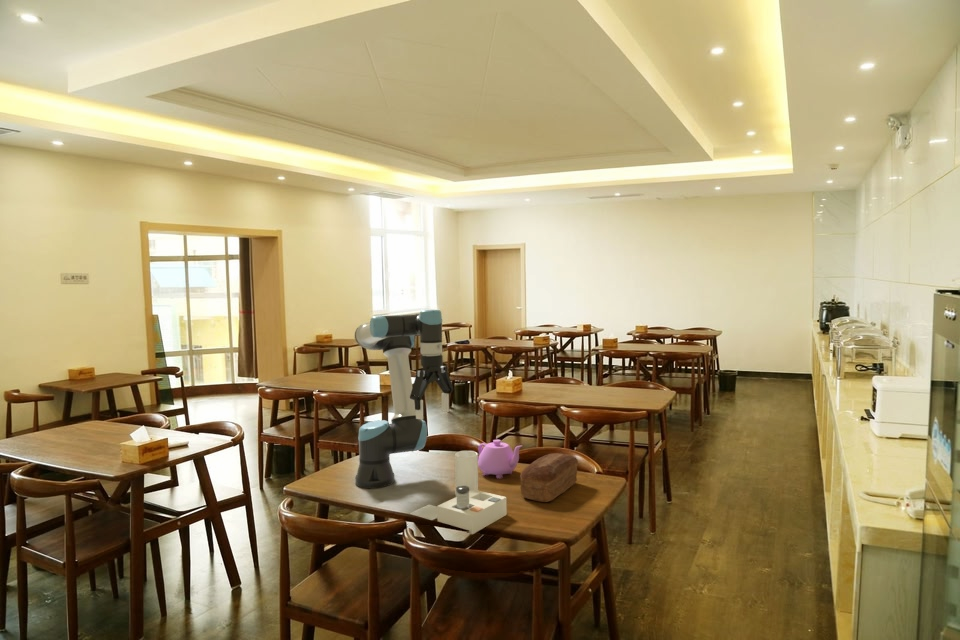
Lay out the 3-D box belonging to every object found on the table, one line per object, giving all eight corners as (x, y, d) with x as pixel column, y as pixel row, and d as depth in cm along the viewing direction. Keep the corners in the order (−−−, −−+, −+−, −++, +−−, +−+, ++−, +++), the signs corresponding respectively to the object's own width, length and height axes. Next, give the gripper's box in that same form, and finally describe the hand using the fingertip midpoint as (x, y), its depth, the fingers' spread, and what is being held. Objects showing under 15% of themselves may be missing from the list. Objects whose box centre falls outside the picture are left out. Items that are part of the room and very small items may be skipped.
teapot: (533, 474, 245) (532, 440, 244) (511, 484, 233) (510, 449, 232) (489, 464, 259) (488, 432, 258) (466, 474, 246) (465, 440, 245)
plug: (454, 525, 196) (453, 488, 195) (462, 520, 199) (461, 484, 198) (464, 528, 193) (463, 491, 192) (472, 523, 196) (471, 487, 196)
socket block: (437, 524, 197) (437, 505, 196) (473, 505, 212) (472, 488, 211) (472, 534, 188) (471, 514, 188) (506, 514, 203) (506, 496, 203)
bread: (582, 483, 234) (582, 451, 233) (550, 507, 210) (550, 472, 209) (549, 477, 241) (549, 446, 240) (515, 499, 218) (515, 466, 217)
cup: (470, 502, 215) (469, 458, 214) (451, 498, 219) (450, 455, 218) (482, 495, 222) (481, 452, 221) (463, 491, 226) (462, 449, 225)
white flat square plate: (409, 516, 203) (409, 513, 203) (429, 507, 211) (429, 504, 211) (431, 523, 197) (431, 520, 197) (451, 513, 205) (451, 510, 205)
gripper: (415, 359, 198) (416, 423, 199) (462, 351, 218) (463, 409, 219) (398, 357, 202) (399, 420, 204) (446, 350, 222) (447, 407, 224)
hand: (432, 415), depth 212 cm, fingers open, 13 cm apart
